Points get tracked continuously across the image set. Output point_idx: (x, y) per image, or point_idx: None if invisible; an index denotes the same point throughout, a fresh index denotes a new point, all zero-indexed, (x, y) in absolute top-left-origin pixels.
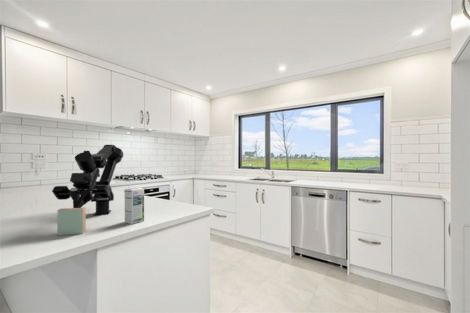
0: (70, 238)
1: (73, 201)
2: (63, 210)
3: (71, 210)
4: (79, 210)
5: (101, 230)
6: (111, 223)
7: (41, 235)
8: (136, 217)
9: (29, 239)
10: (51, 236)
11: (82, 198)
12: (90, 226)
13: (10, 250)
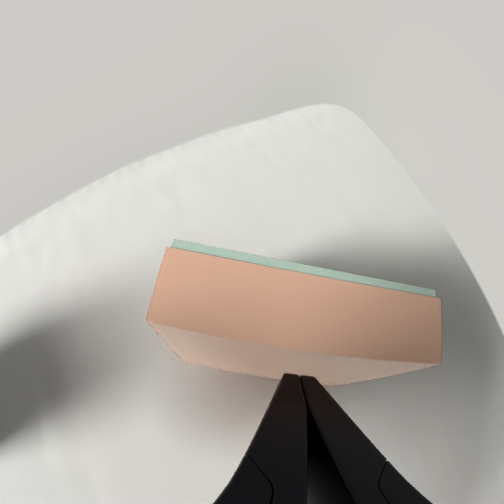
0: None
1: (381, 460)
2: (385, 284)
3: (301, 267)
4: (209, 253)
5: (88, 339)
6: (52, 474)
7: None
8: None
9: None
10: None
11: (227, 501)
12: (177, 476)
13: (418, 204)
